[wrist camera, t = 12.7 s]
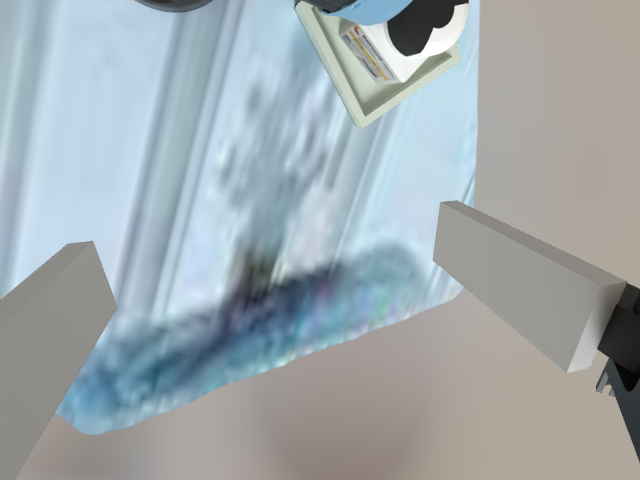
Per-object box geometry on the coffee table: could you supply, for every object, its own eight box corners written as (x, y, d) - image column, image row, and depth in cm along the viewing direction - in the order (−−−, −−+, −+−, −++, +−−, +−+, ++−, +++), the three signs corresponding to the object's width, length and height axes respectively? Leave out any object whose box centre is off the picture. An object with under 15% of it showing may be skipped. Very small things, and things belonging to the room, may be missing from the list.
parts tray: (294, 9, 36) (297, 3, 33) (405, -72, 35) (416, -83, 33) (355, 126, 42) (362, 128, 40) (449, 61, 42) (461, 59, 40)
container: (336, 34, 37) (379, 6, 25) (383, -20, 36) (451, -77, 24) (376, 86, 40) (431, 81, 29) (421, 37, 39) (496, 12, 28)
